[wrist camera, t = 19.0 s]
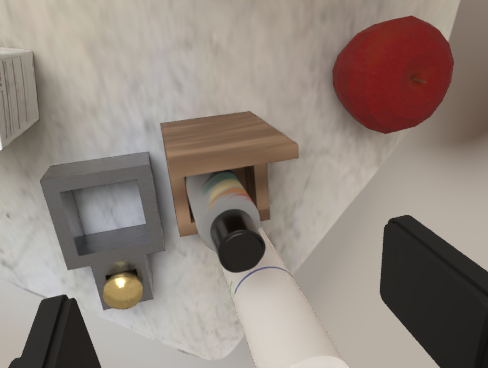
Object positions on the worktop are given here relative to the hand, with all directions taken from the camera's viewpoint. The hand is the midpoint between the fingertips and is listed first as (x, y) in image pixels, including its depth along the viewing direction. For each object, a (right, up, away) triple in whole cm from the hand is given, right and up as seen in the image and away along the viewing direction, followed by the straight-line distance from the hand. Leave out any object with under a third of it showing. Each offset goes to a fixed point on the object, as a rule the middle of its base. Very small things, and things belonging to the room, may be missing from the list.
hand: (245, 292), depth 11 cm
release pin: (-16, -7, +38) cm, 41 cm away
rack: (-4, +5, +37) cm, 37 cm away
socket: (-16, -2, +36) cm, 40 cm away
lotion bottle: (-5, +5, +36) cm, 37 cm away
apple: (+14, +18, +37) cm, 44 cm away
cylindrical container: (-1, -4, +42) cm, 42 cm away
